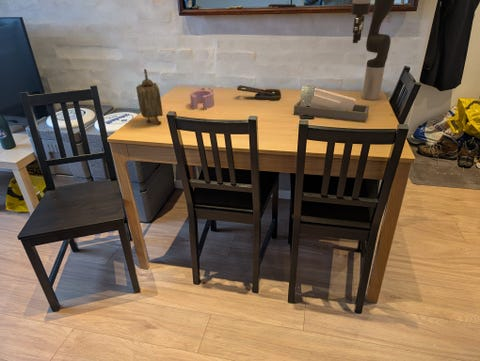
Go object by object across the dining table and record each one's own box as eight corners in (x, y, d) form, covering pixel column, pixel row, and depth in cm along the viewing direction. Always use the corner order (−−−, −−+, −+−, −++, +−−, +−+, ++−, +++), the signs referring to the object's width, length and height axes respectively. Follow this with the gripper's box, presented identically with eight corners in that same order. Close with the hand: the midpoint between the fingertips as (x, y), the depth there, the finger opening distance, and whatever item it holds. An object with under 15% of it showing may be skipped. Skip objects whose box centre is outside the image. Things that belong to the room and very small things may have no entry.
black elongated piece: (238, 84, 203) (281, 85, 199) (239, 95, 206) (281, 96, 202) (236, 88, 195) (280, 89, 191) (236, 100, 199) (280, 101, 195)
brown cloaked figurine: (164, 125, 165) (156, 71, 153) (145, 128, 163) (135, 73, 150) (159, 116, 177) (152, 65, 165) (141, 118, 174) (132, 67, 162)
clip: (197, 99, 203) (196, 87, 199) (218, 99, 201) (217, 87, 198) (188, 109, 186) (186, 97, 182) (211, 110, 184) (210, 97, 181)
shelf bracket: (299, 108, 179) (306, 84, 172) (347, 122, 174) (356, 98, 167) (297, 111, 175) (304, 87, 168) (346, 126, 169) (355, 101, 163)
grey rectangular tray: (300, 107, 183) (300, 99, 181) (367, 114, 171) (369, 105, 169) (293, 114, 174) (294, 105, 172) (364, 122, 161) (366, 113, 159)
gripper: (368, 3, 145) (363, 44, 153) (372, 1, 156) (366, 39, 164) (350, 3, 148) (345, 43, 156) (355, 1, 159) (350, 39, 167)
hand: (356, 41), depth 160 cm, fingers open, 8 cm apart
